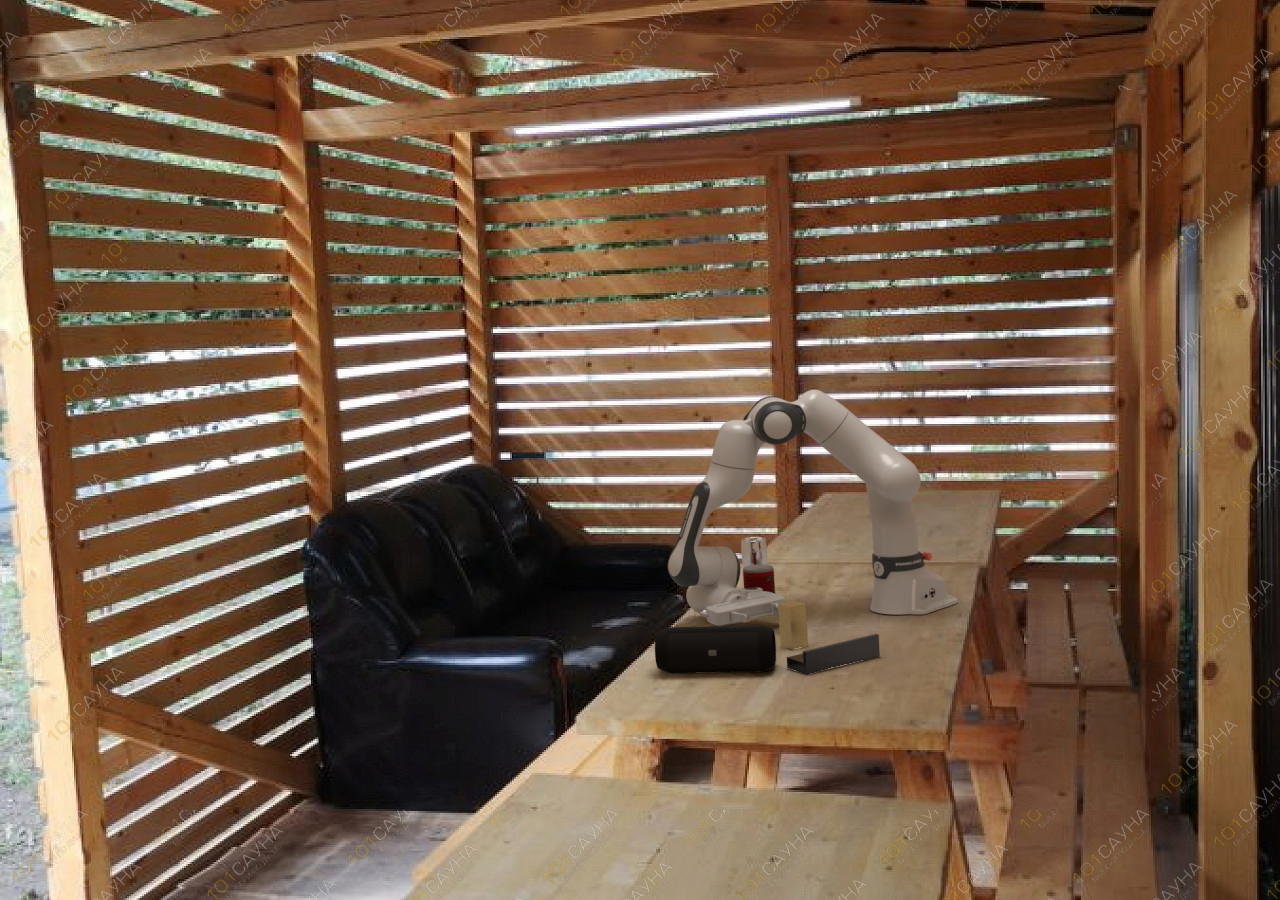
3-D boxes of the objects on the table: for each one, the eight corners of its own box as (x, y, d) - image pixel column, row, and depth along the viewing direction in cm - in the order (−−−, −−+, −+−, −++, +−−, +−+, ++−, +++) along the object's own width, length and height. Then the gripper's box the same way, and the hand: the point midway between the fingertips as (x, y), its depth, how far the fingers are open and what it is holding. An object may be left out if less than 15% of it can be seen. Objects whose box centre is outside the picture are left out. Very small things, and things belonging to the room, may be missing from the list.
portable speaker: (655, 679, 292) (652, 634, 291) (663, 666, 302) (660, 622, 301) (773, 677, 287) (770, 631, 286) (777, 664, 297) (774, 619, 296)
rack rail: (787, 668, 292) (785, 646, 291) (859, 650, 302) (858, 629, 301) (806, 675, 286) (805, 652, 285) (879, 656, 296) (878, 634, 295)
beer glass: (752, 597, 363) (749, 542, 361) (739, 593, 369) (735, 539, 367) (774, 592, 366) (771, 538, 364) (760, 588, 372) (757, 535, 370)
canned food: (774, 612, 344) (772, 569, 343) (743, 613, 346) (740, 570, 344) (777, 605, 351) (775, 563, 350) (747, 605, 353) (744, 564, 352)
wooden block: (796, 642, 313) (793, 600, 312) (808, 646, 309) (805, 603, 308) (780, 646, 310) (778, 604, 309) (792, 650, 307) (789, 607, 305)
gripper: (695, 600, 325) (727, 609, 313) (764, 586, 335) (797, 594, 323) (697, 626, 326) (728, 636, 314) (765, 610, 336) (799, 620, 324)
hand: (764, 614), depth 319 cm, fingers open, 8 cm apart
